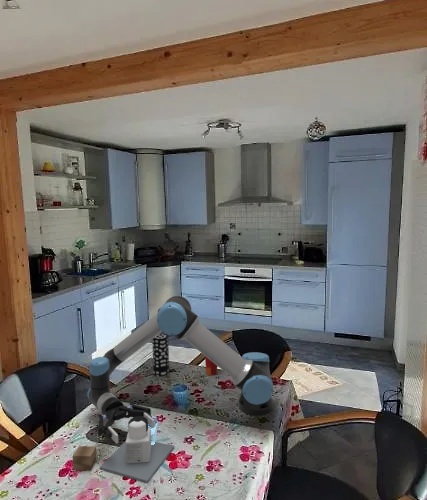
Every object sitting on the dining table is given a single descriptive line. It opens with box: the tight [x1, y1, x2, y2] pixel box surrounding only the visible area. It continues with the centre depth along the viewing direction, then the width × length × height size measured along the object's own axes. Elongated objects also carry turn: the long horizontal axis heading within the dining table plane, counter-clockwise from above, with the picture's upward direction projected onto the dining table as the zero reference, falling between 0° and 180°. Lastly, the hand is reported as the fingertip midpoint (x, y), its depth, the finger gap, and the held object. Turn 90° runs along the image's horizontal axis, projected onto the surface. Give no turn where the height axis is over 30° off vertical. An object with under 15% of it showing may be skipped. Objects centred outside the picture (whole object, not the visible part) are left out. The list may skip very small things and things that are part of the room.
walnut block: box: [72, 445, 98, 471], centre depth 120 cm, size 6×5×5 cm
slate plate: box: [99, 440, 175, 484], centre depth 123 cm, size 18×18×1 cm
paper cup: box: [204, 355, 218, 376], centre depth 189 cm, size 8×8×14 cm
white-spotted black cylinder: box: [151, 333, 170, 378], centre depth 189 cm, size 8×8×20 cm
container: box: [125, 416, 152, 464], centre depth 122 cm, size 8×8×13 cm
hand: (136, 431), depth 122 cm, fingers open, 13 cm apart
